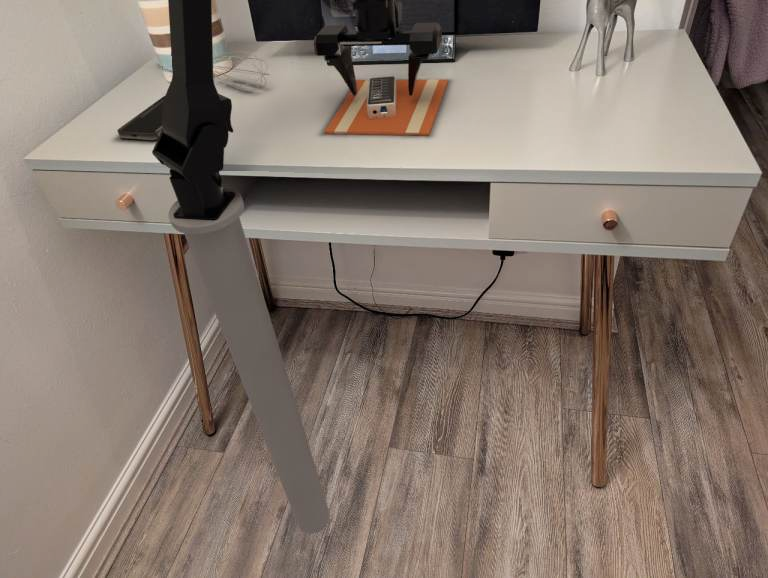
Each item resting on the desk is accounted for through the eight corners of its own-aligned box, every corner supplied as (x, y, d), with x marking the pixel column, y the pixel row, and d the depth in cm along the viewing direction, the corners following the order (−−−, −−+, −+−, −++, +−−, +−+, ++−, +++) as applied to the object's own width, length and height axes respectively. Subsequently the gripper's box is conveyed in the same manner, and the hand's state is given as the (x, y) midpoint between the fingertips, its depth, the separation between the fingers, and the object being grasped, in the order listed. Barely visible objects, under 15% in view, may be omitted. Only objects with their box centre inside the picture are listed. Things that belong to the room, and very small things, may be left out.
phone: (204, 95, 101) (154, 134, 90) (206, 101, 101) (157, 141, 91) (166, 93, 103) (113, 131, 92) (168, 99, 104) (116, 138, 93)
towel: (428, 135, 84) (428, 132, 84) (325, 133, 88) (324, 131, 87) (447, 81, 99) (447, 79, 98) (358, 82, 102) (357, 79, 102)
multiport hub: (396, 89, 97) (395, 75, 96) (396, 117, 89) (395, 102, 87) (370, 91, 97) (369, 77, 96) (368, 119, 89) (366, 105, 88)
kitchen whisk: (173, 58, 121) (162, 27, 117) (280, 88, 104) (273, 52, 100) (148, 68, 118) (136, 36, 114) (255, 101, 100) (246, 64, 96)
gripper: (446, -30, 86) (447, 74, 96) (327, -24, 90) (341, 75, 100) (434, -9, 78) (437, 103, 88) (304, -4, 82) (322, 102, 92)
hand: (383, 94), depth 92 cm, fingers open, 9 cm apart
